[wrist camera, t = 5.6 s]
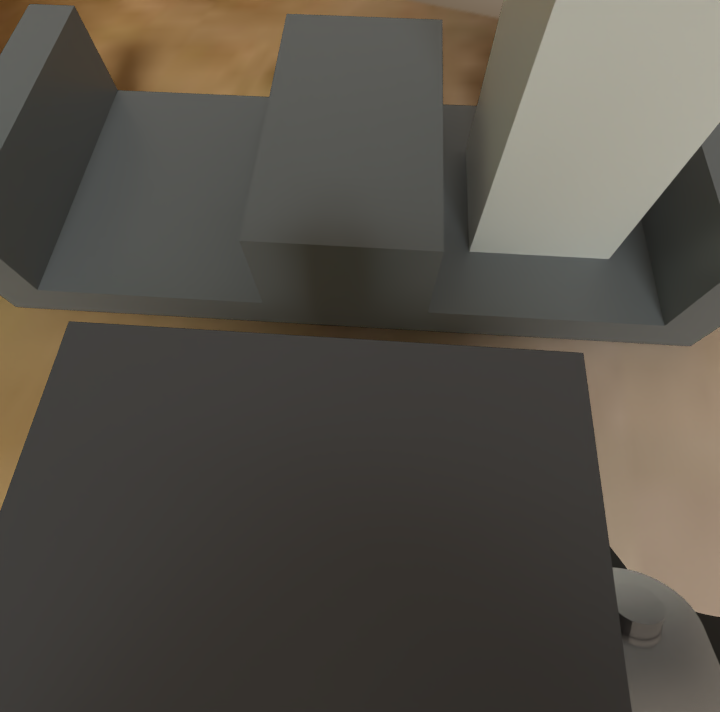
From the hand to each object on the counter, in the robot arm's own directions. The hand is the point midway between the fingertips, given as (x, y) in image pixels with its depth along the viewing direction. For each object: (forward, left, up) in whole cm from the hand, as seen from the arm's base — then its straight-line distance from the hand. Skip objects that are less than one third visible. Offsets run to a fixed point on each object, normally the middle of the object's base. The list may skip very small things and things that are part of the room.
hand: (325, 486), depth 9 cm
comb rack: (0, -10, -4) cm, 11 cm away
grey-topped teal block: (0, +2, -4) cm, 5 cm away
